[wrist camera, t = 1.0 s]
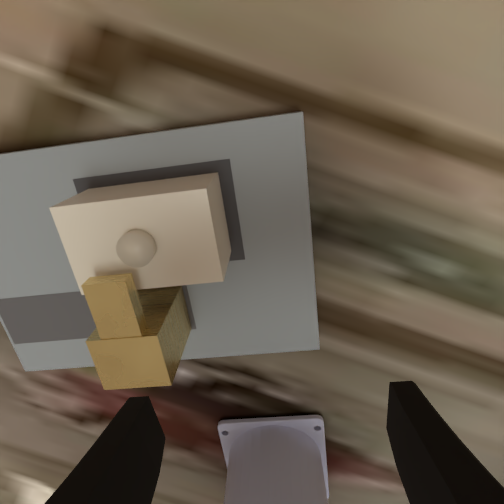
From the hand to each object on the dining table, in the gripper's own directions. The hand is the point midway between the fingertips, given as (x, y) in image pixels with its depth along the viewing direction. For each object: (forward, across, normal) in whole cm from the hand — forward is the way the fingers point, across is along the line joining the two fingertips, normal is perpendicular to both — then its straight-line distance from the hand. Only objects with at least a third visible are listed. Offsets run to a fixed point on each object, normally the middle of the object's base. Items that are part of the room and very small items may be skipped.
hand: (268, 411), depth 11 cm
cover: (+10, +6, -2) cm, 12 cm away
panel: (+12, +8, 0) cm, 14 cm away
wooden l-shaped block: (+10, +7, +2) cm, 12 cm away
